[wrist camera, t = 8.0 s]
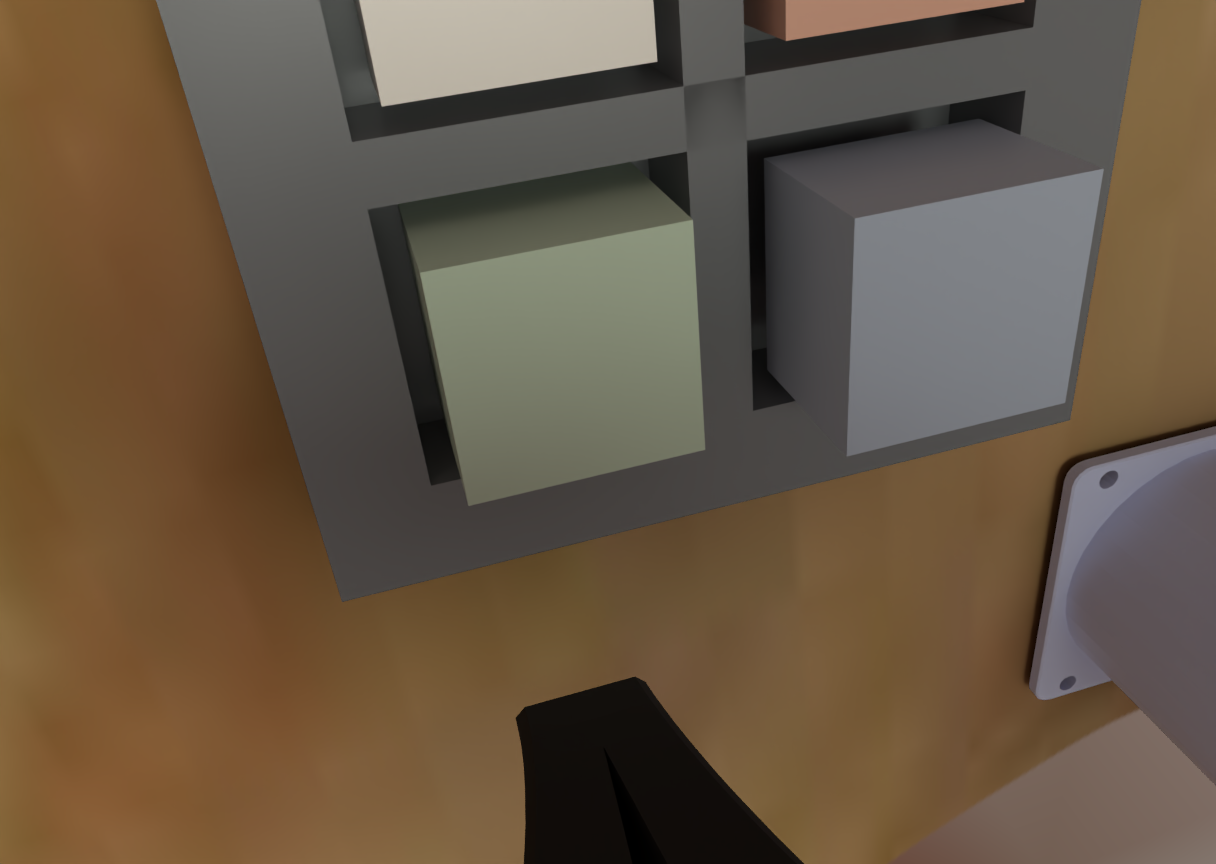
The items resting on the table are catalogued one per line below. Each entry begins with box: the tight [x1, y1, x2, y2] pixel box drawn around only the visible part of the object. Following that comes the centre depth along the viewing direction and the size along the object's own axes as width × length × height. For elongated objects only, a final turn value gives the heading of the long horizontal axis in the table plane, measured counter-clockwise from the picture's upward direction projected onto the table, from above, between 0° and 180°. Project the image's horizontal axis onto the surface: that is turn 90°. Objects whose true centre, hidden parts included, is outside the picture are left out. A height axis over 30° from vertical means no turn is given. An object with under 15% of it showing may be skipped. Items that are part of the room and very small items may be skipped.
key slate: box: [764, 119, 1104, 456], centre depth 17 cm, size 4×4×3 cm
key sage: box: [398, 162, 705, 506], centre depth 17 cm, size 4×4×3 cm
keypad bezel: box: [156, 0, 1141, 602], centre depth 17 cm, size 15×15×3 cm
